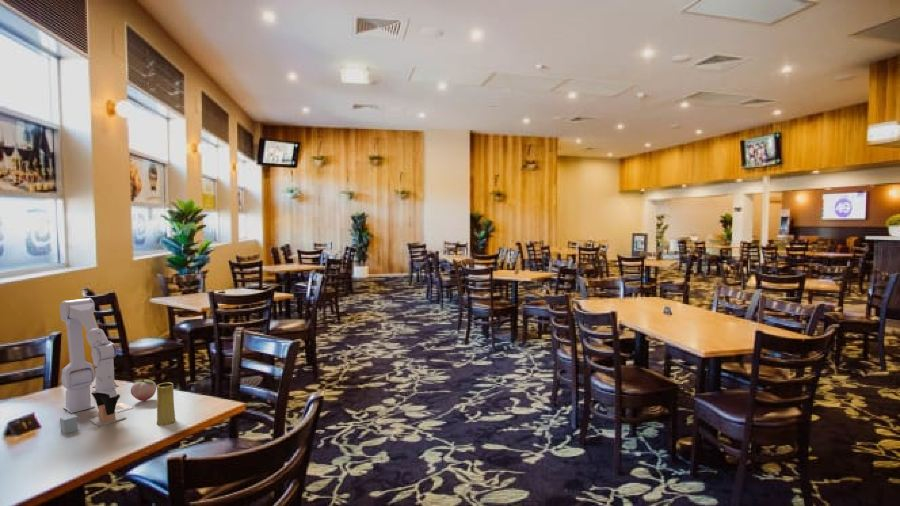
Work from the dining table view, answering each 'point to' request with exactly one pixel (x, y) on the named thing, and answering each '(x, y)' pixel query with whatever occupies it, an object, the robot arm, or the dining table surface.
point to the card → (122, 407)
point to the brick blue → (69, 423)
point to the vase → (165, 404)
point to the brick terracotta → (103, 415)
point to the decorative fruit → (143, 389)
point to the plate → (101, 423)
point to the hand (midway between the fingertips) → (106, 411)
